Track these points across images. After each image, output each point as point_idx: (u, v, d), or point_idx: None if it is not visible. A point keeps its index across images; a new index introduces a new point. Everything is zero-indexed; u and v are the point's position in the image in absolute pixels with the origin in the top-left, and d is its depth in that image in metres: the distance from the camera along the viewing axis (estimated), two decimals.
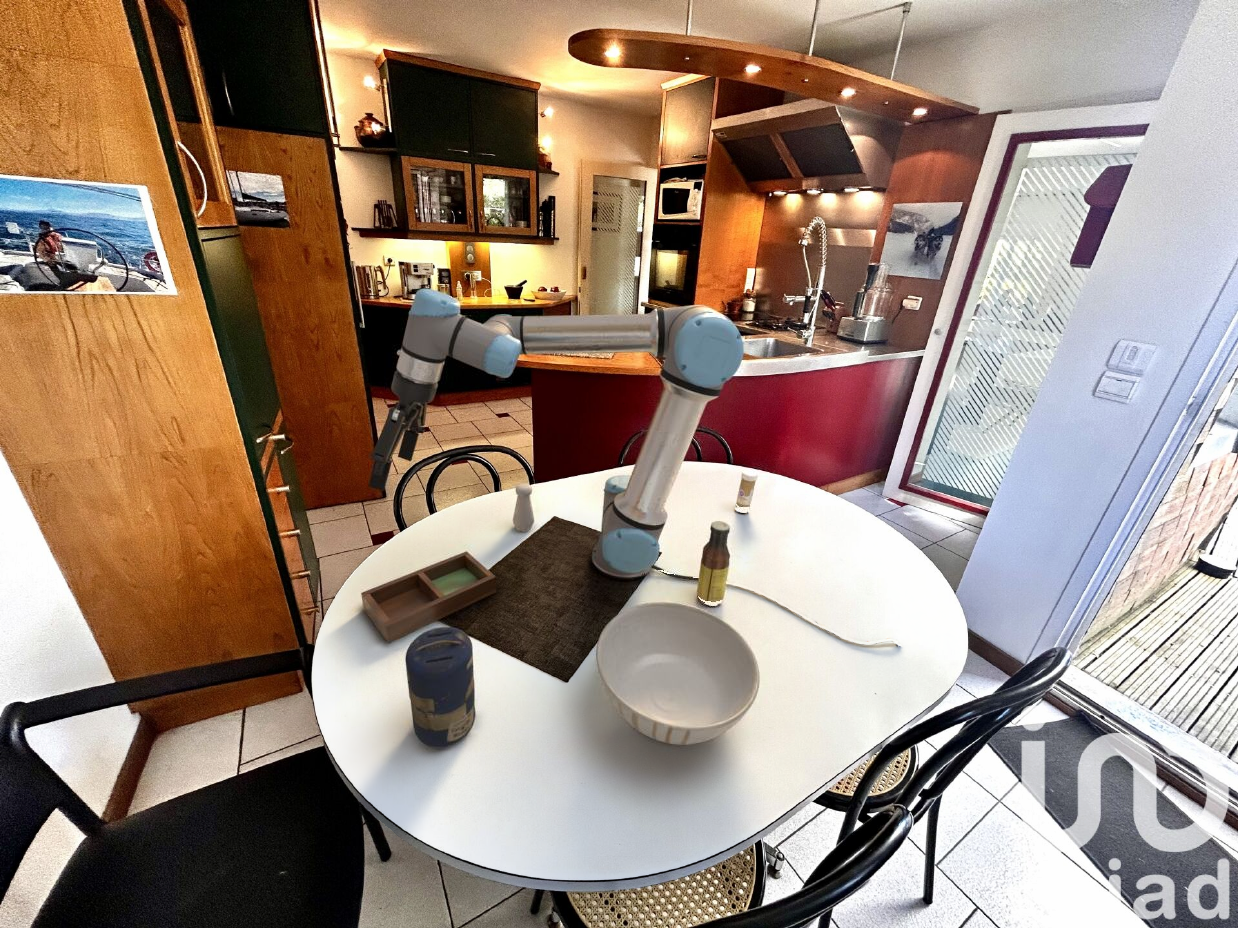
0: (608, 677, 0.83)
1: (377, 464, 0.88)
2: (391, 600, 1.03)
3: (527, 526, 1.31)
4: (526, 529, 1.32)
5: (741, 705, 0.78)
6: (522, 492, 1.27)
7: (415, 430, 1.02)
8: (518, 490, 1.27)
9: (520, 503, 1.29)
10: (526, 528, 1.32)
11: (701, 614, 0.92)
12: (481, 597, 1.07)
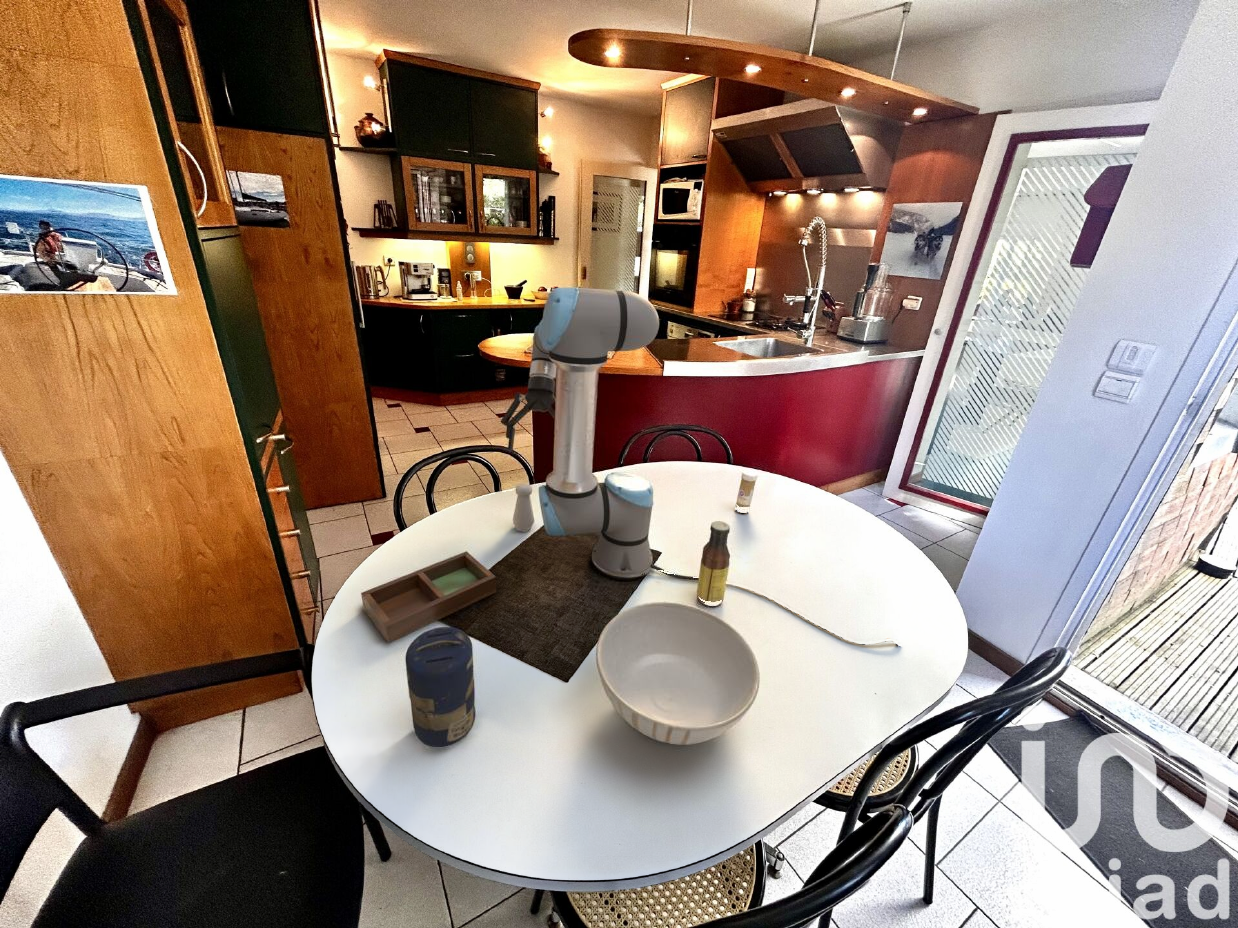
0: (608, 677, 0.83)
1: None
2: (391, 600, 1.03)
3: (527, 526, 1.31)
4: (526, 529, 1.32)
5: (741, 705, 0.78)
6: (522, 492, 1.27)
7: None
8: (518, 490, 1.27)
9: (520, 503, 1.29)
10: (526, 528, 1.32)
11: (701, 614, 0.92)
12: (481, 597, 1.07)
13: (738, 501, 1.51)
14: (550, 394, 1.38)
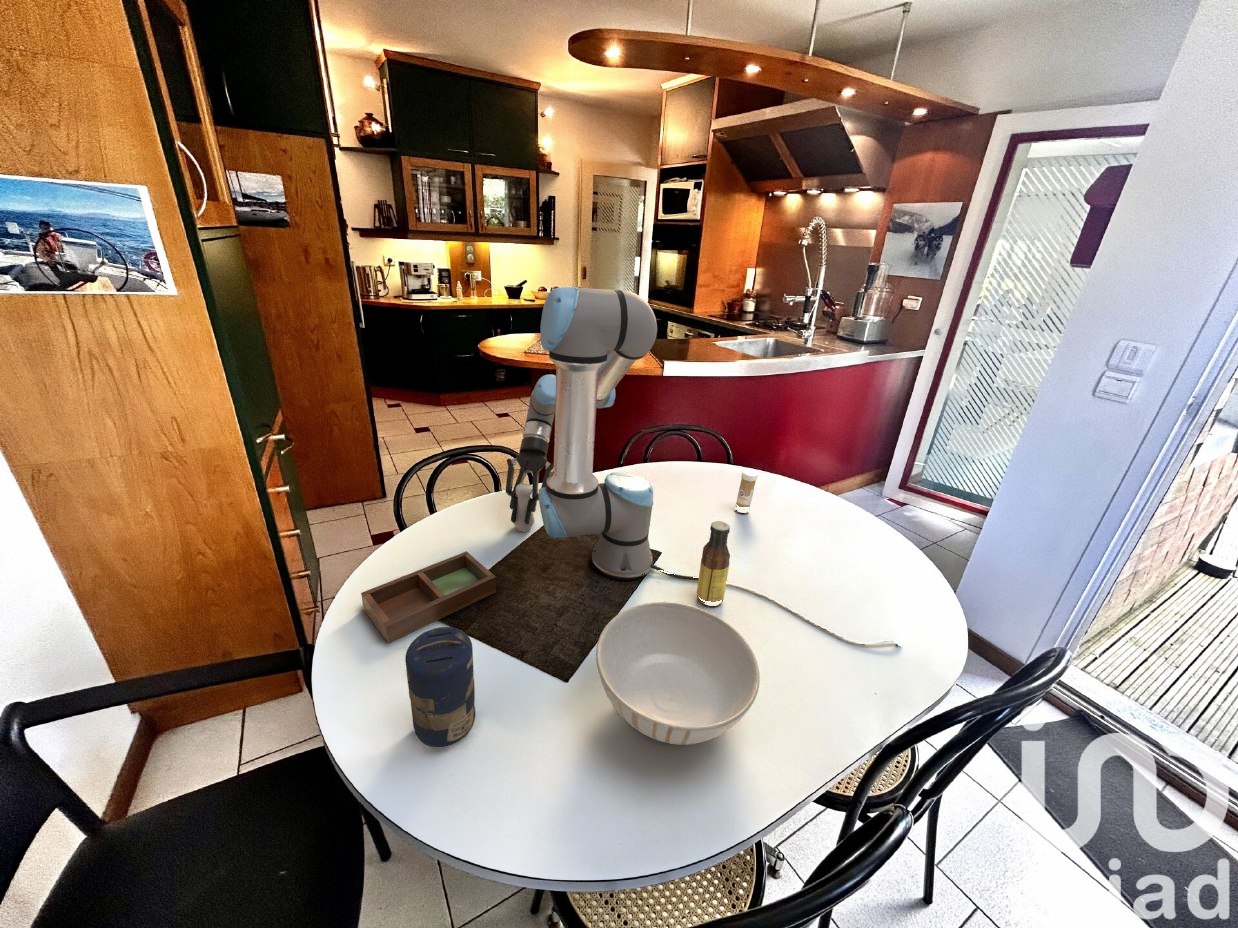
0: (608, 677, 0.83)
1: None
2: (391, 600, 1.03)
3: (527, 526, 1.31)
4: (526, 529, 1.32)
5: (741, 705, 0.78)
6: (522, 492, 1.27)
7: None
8: (518, 490, 1.27)
9: (520, 503, 1.29)
10: (526, 528, 1.32)
11: (701, 614, 0.92)
12: (481, 597, 1.07)
13: (738, 501, 1.51)
14: (542, 455, 1.34)
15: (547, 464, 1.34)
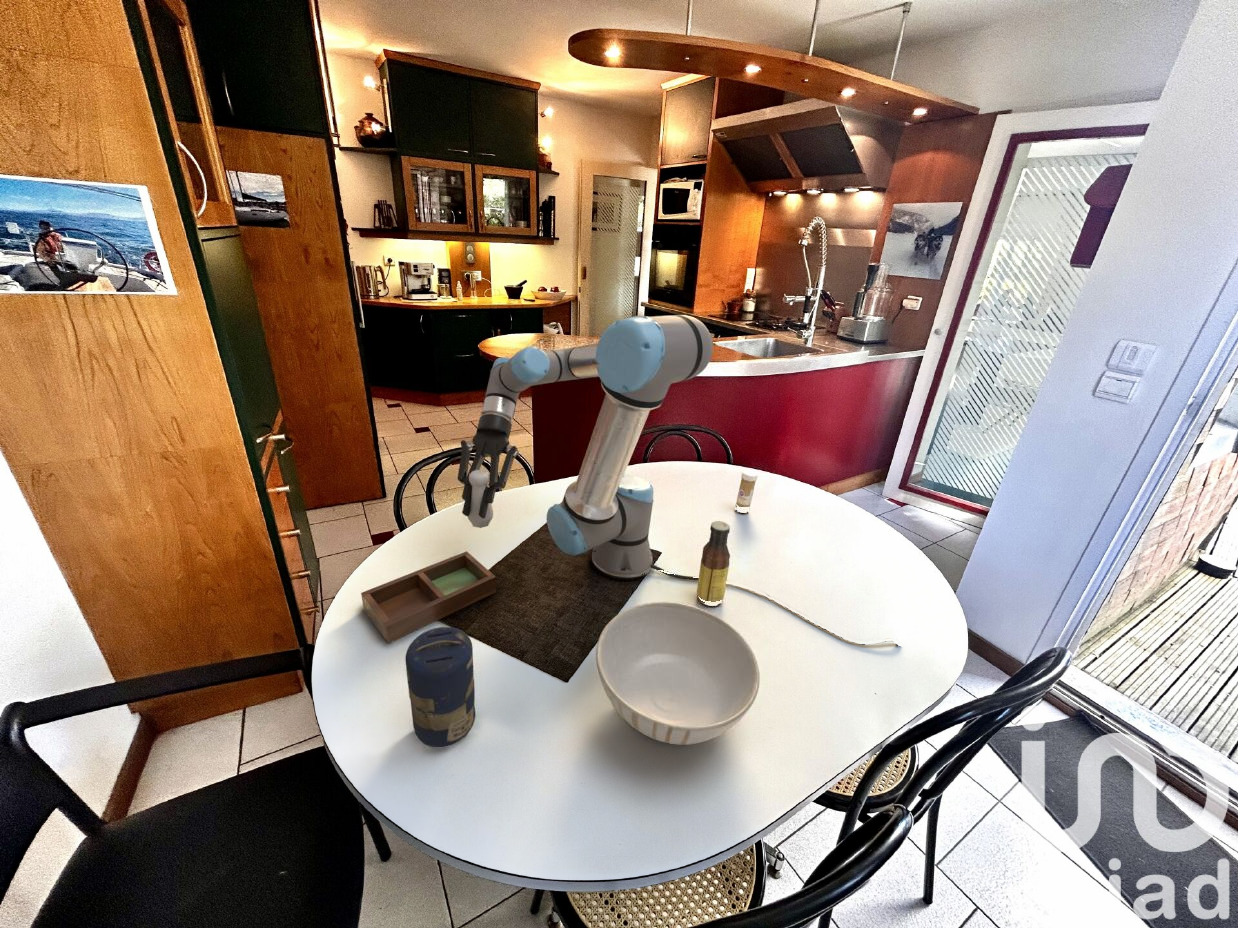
0: (608, 677, 0.83)
1: None
2: (391, 600, 1.03)
3: (483, 521, 1.10)
4: (483, 525, 1.11)
5: (741, 705, 0.78)
6: (476, 481, 1.06)
7: None
8: (471, 478, 1.06)
9: (474, 494, 1.08)
10: (482, 524, 1.10)
11: (701, 614, 0.92)
12: (481, 597, 1.07)
13: (738, 501, 1.51)
14: (503, 436, 1.13)
15: (509, 447, 1.13)
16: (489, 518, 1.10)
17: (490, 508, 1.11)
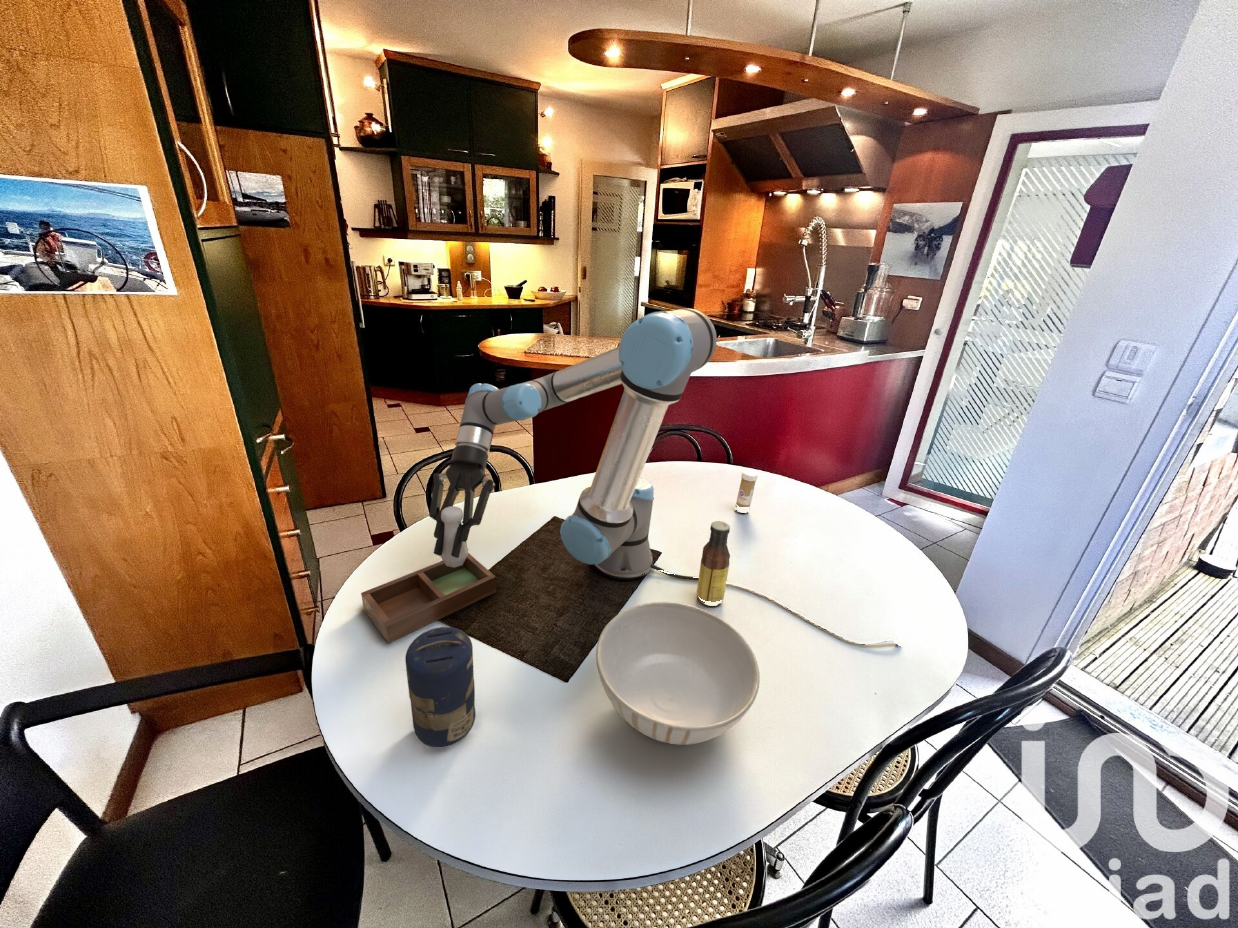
0: (608, 677, 0.83)
1: None
2: (391, 600, 1.03)
3: (457, 561, 1.03)
4: (456, 564, 1.04)
5: (741, 705, 0.78)
6: (448, 519, 0.99)
7: None
8: (443, 516, 0.99)
9: (447, 532, 1.01)
10: (456, 563, 1.03)
11: (701, 614, 0.92)
12: (481, 597, 1.07)
13: (738, 501, 1.51)
14: (479, 469, 1.06)
15: (484, 480, 1.06)
16: (463, 557, 1.04)
17: (464, 546, 1.04)
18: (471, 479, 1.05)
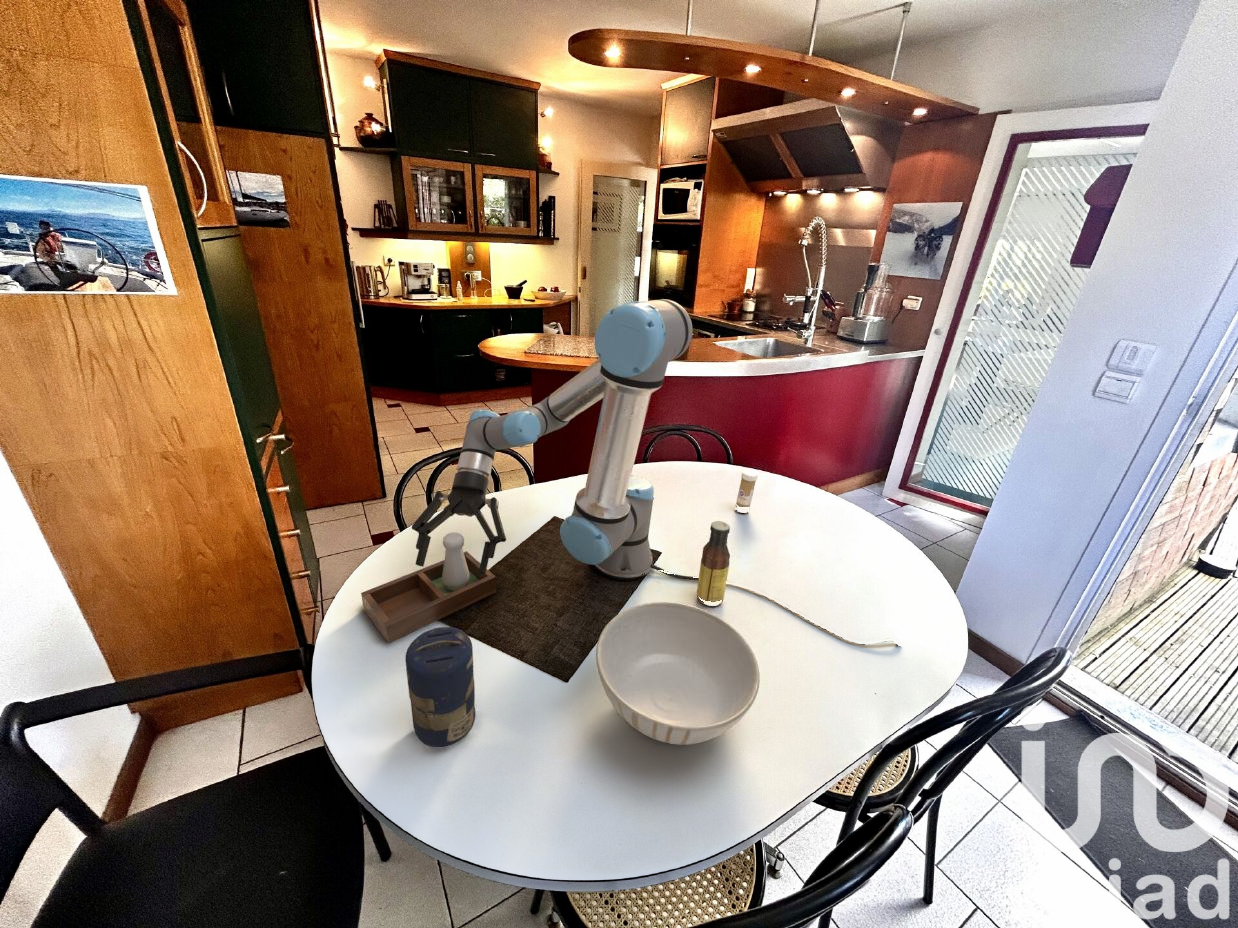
0: (608, 677, 0.83)
1: None
2: (391, 600, 1.03)
3: (459, 585, 1.06)
4: (458, 589, 1.07)
5: (741, 705, 0.78)
6: (450, 546, 1.02)
7: (490, 540, 1.06)
8: (445, 542, 1.02)
9: (448, 558, 1.04)
10: (458, 588, 1.06)
11: (701, 614, 0.92)
12: (481, 597, 1.07)
13: (738, 501, 1.51)
14: (480, 494, 1.09)
15: (487, 501, 1.09)
16: (464, 582, 1.06)
17: (466, 571, 1.06)
18: (474, 502, 1.07)
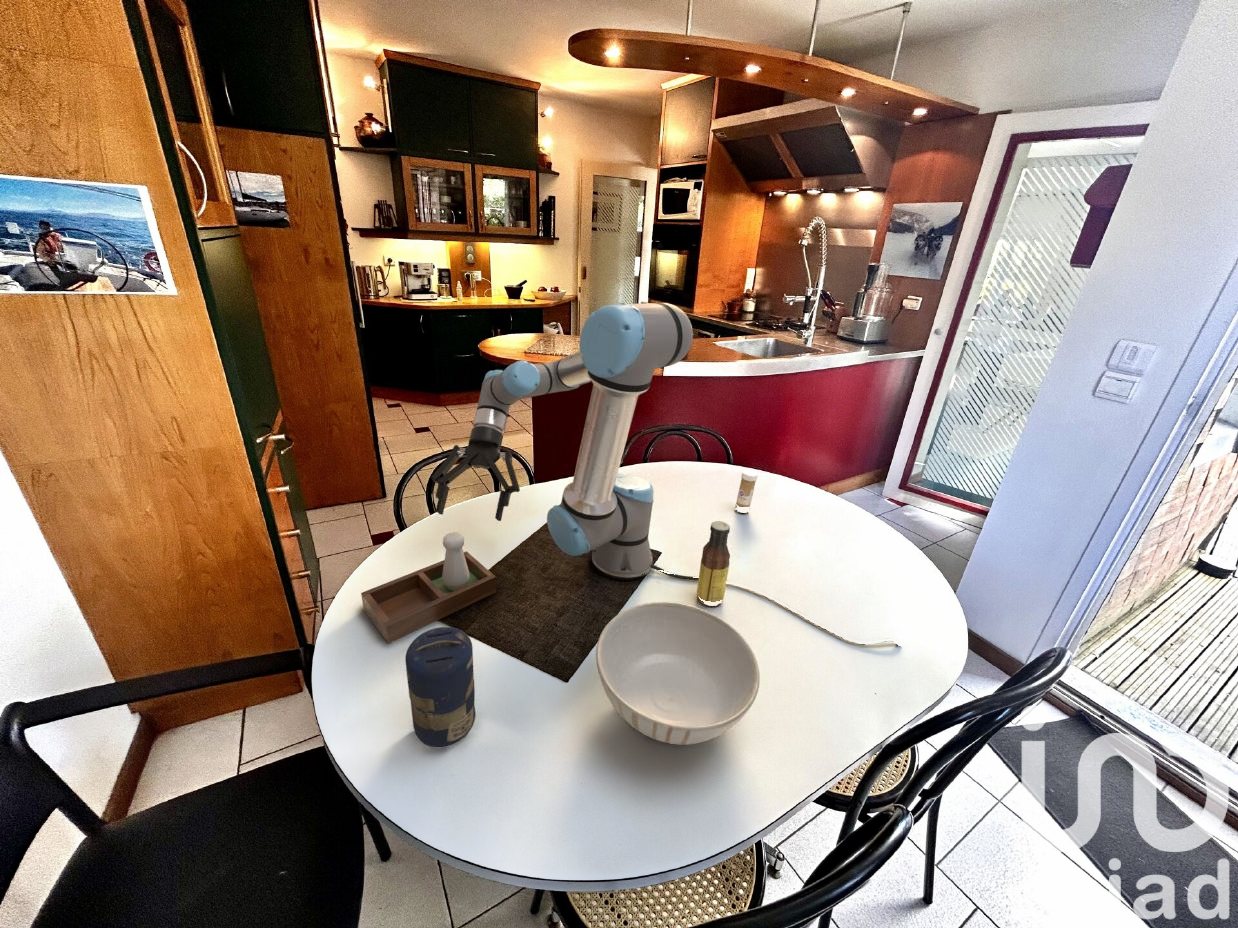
0: (608, 677, 0.83)
1: None
2: (391, 600, 1.03)
3: (459, 585, 1.06)
4: (458, 589, 1.07)
5: (741, 705, 0.78)
6: (450, 546, 1.02)
7: (505, 489, 1.13)
8: (445, 542, 1.02)
9: (448, 558, 1.04)
10: (458, 588, 1.06)
11: (701, 614, 0.92)
12: (481, 597, 1.07)
13: (738, 501, 1.51)
14: (495, 448, 1.16)
15: (502, 454, 1.16)
16: (464, 582, 1.06)
17: (466, 571, 1.06)
18: (490, 455, 1.15)
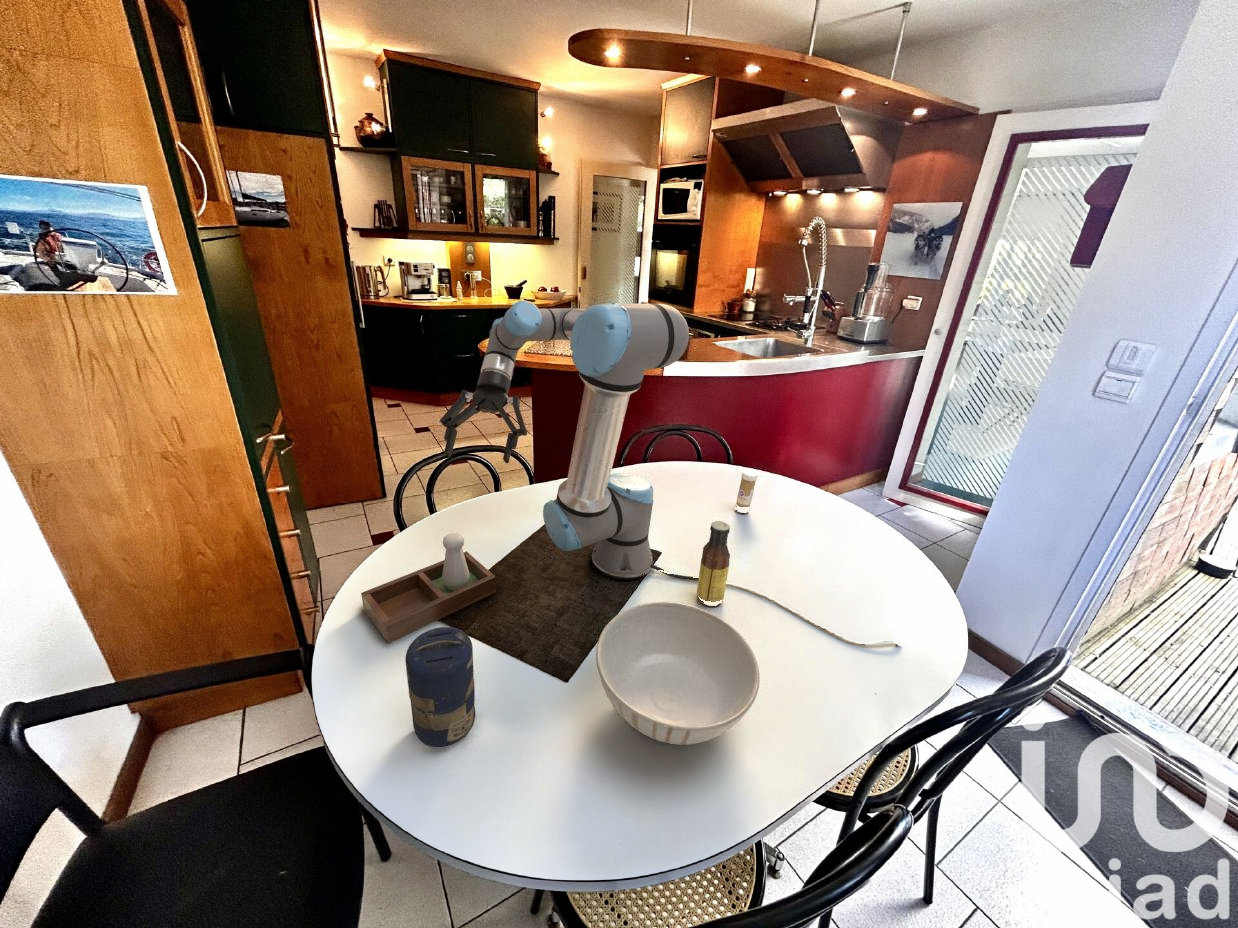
0: (608, 677, 0.83)
1: None
2: (391, 600, 1.03)
3: (459, 585, 1.06)
4: (458, 589, 1.07)
5: (741, 705, 0.78)
6: (450, 546, 1.02)
7: (512, 432, 1.14)
8: (445, 542, 1.02)
9: (448, 558, 1.04)
10: (458, 588, 1.06)
11: (701, 614, 0.92)
12: (481, 597, 1.07)
13: (738, 501, 1.51)
14: (503, 393, 1.17)
15: (510, 399, 1.17)
16: (464, 582, 1.06)
17: (466, 571, 1.06)
18: (497, 399, 1.16)
